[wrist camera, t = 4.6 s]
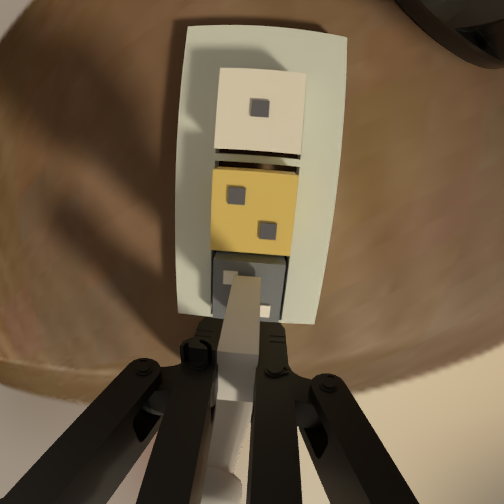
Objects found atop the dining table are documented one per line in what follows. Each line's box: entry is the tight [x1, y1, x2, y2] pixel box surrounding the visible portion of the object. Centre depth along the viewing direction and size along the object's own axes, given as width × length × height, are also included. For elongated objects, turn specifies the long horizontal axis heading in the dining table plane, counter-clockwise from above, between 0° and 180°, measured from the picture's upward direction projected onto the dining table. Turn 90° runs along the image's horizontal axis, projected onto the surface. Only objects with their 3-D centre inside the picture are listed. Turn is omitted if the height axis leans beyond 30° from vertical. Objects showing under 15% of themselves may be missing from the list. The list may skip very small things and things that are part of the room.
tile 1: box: [214, 68, 307, 155], centre depth 13 cm, size 4×4×2 cm
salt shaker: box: [201, 399, 253, 504], centre depth 16 cm, size 6×6×13 cm
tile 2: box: [210, 167, 299, 256], centre depth 15 cm, size 4×4×2 cm
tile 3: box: [213, 250, 286, 323], centre depth 18 cm, size 4×4×2 cm
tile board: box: [175, 25, 347, 324], centre depth 16 cm, size 18×9×2 cm, turn 176°
